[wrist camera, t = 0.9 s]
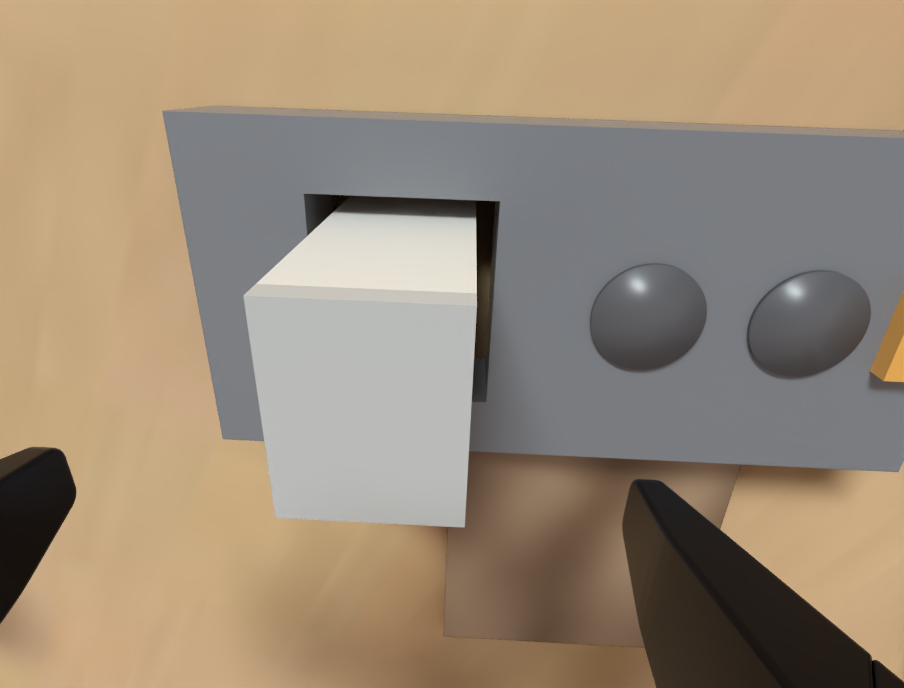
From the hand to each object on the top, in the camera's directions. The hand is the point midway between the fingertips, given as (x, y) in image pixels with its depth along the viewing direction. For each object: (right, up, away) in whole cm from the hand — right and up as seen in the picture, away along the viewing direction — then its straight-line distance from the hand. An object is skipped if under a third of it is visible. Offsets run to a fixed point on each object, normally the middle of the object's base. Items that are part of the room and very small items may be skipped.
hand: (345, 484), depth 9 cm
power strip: (+5, +4, +10) cm, 12 cm away
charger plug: (0, +5, +10) cm, 11 cm away
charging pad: (+7, -6, +15) cm, 18 cm away
